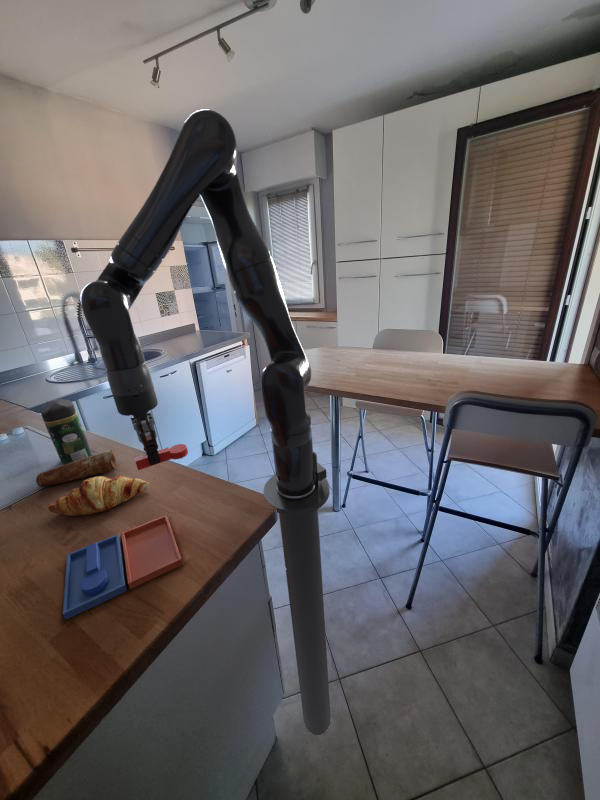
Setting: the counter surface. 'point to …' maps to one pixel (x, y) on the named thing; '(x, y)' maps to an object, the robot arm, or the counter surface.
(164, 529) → the terracotta tray
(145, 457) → the red spoon
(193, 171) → the robot arm
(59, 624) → the counter surface
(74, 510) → the croissant
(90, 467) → the bread
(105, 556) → the blue tray
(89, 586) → the blue spoon
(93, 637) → the counter surface
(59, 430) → the coffee jar
